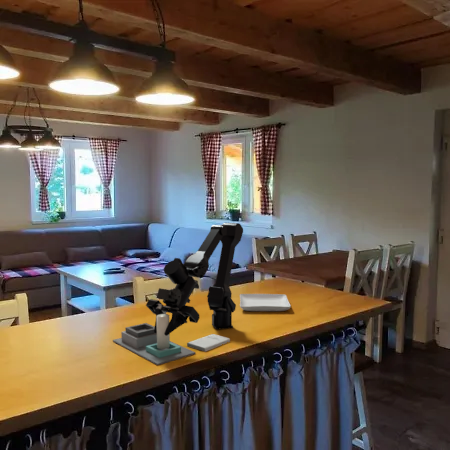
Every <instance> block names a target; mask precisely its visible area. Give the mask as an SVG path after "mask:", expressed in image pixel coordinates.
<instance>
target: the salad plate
mask: <svg viewBox="0 0 450 450" xmlns="http://www.w3.org/2000/svg"><path fill="white" fill-rule="evenodd" d="M239 302H240V303H239V307H240V308H241V309H242V310H243V311H246V312H284V311H287V310H290V308H291V307H292V305H291V304H290V301H289V299H288V296H287V294H284V293H283V294H280V293H279V294H278V293H240V294H239Z"/></svg>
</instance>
